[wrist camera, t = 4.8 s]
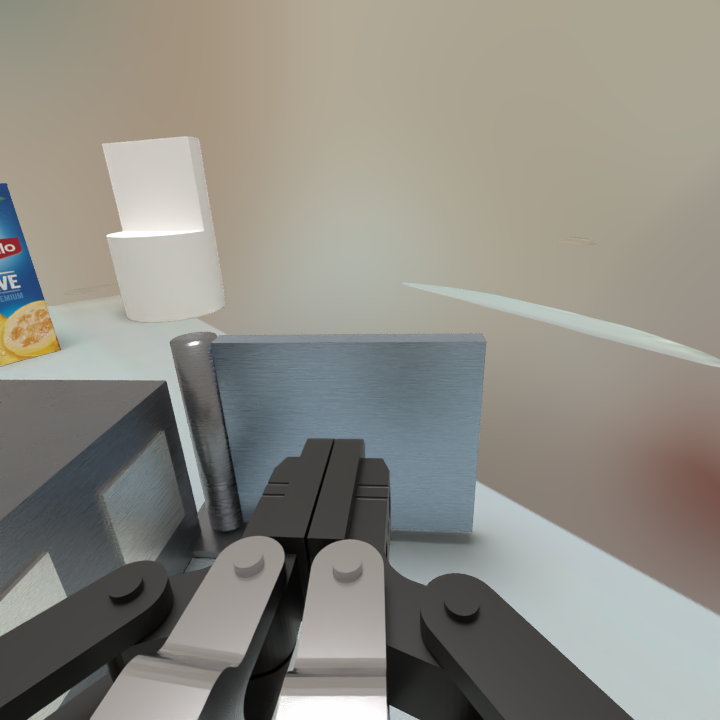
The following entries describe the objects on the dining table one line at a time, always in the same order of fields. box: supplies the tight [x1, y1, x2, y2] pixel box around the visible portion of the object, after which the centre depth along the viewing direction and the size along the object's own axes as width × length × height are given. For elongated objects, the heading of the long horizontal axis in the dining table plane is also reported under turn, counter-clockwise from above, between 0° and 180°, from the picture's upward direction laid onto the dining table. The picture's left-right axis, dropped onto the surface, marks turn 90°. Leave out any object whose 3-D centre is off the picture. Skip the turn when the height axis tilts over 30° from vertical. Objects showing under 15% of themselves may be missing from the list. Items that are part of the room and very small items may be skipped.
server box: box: [0, 380, 248, 720], centre depth 20 cm, size 20×14×11 cm
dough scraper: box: [170, 332, 486, 532], centre depth 25 cm, size 16×2×12 cm, turn 84°
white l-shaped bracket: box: [102, 136, 226, 322], centre depth 75 cm, size 17×17×28 cm
